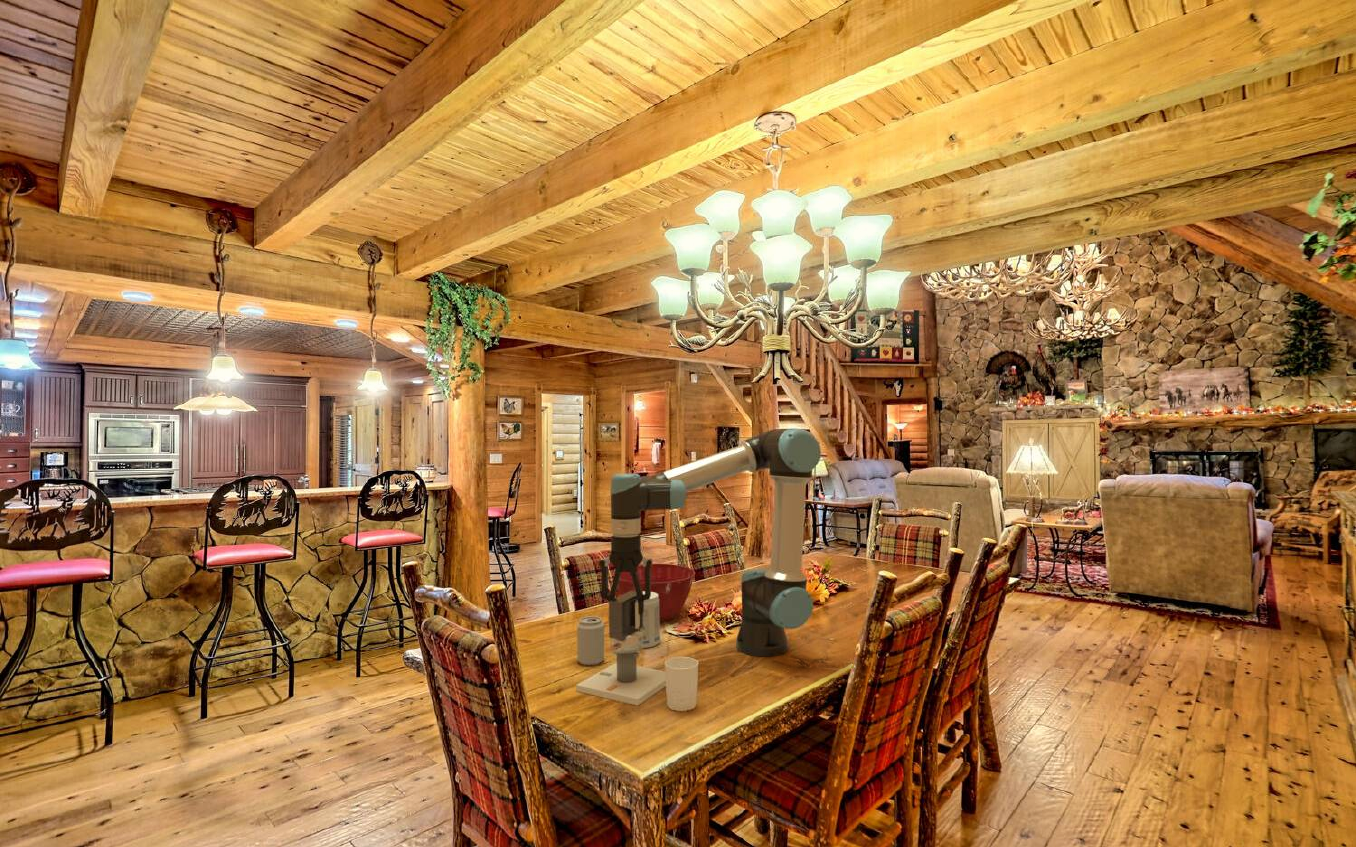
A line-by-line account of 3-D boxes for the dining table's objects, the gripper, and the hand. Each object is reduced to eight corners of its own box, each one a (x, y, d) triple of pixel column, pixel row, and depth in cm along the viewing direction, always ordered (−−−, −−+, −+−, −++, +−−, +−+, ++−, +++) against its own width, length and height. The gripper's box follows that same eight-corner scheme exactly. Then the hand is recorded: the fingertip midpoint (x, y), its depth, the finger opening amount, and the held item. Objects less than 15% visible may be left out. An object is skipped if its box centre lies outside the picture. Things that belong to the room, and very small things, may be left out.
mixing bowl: (685, 631, 203) (685, 583, 203) (601, 625, 210) (601, 579, 210) (702, 607, 230) (702, 565, 231) (627, 603, 237) (627, 562, 237)
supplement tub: (647, 636, 198) (647, 589, 198) (666, 644, 191) (666, 595, 191) (621, 643, 192) (621, 594, 192) (640, 651, 185) (640, 600, 185)
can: (608, 658, 179) (608, 616, 179) (596, 668, 172) (596, 623, 172) (585, 655, 181) (584, 613, 181) (572, 665, 174) (572, 621, 174)
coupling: (623, 639, 167) (623, 590, 167) (650, 643, 163) (650, 593, 164) (599, 654, 156) (599, 601, 156) (628, 658, 152) (627, 604, 153)
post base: (675, 679, 163) (674, 644, 163) (637, 705, 148) (637, 667, 148) (617, 667, 172) (617, 634, 172) (576, 691, 156) (576, 654, 156)
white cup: (674, 715, 142) (674, 671, 142) (659, 702, 149) (658, 660, 149) (704, 708, 146) (704, 664, 146) (688, 696, 153) (688, 654, 153)
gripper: (587, 537, 157) (588, 630, 157) (659, 537, 156) (660, 632, 156) (594, 532, 165) (594, 621, 165) (662, 532, 164) (663, 622, 163)
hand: (626, 626), depth 160 cm, fingers closed on coupling, 5 cm apart
